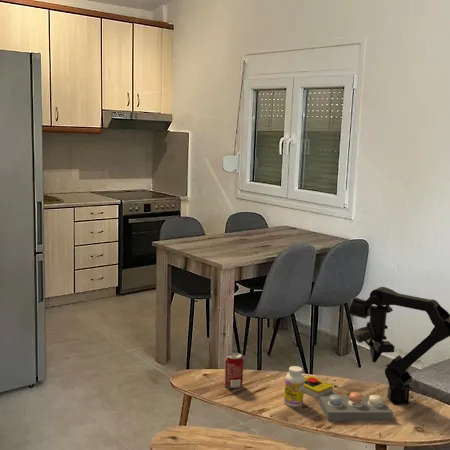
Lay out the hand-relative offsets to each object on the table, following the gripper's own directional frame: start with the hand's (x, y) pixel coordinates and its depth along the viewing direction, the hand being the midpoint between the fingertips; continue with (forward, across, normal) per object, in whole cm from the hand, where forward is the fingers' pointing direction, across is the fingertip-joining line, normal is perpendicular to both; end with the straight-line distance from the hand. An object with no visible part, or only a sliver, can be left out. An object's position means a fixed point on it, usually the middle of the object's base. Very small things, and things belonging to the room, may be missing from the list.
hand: (373, 362), depth 216 cm
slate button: (+8, +15, -20) cm, 26 cm away
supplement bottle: (+12, +6, -32) cm, 35 cm away
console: (+12, +15, -13) cm, 23 cm away
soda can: (+12, -9, -51) cm, 53 cm away
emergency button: (+13, -3, -21) cm, 25 cm away
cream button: (+8, +16, -6) cm, 19 cm away
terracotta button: (+7, +15, -13) cm, 21 cm away
